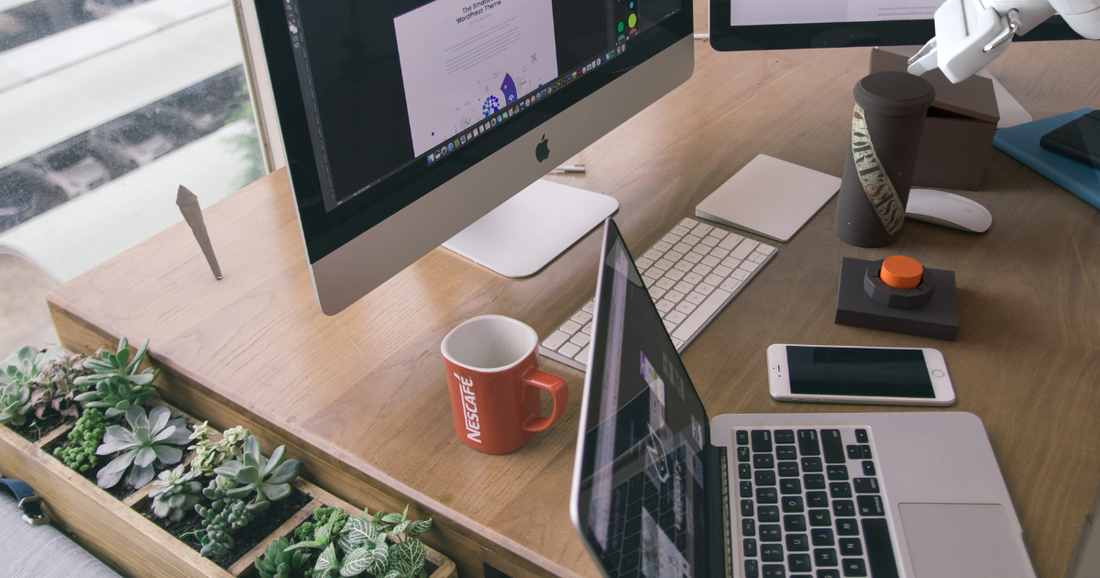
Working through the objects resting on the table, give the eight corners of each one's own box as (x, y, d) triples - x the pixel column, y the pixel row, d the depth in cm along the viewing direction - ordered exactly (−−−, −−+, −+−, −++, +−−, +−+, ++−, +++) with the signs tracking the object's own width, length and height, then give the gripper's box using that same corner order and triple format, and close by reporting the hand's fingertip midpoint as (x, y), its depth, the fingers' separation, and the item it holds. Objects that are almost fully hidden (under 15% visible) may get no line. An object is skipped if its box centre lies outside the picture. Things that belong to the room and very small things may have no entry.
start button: (879, 287, 84) (882, 274, 83) (880, 266, 87) (883, 253, 86) (919, 292, 83) (923, 279, 82) (919, 271, 86) (922, 258, 84)
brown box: (854, 179, 109) (866, 114, 103) (858, 139, 118) (869, 77, 112) (977, 191, 104) (998, 124, 98) (971, 148, 113) (989, 84, 107)
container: (820, 238, 98) (844, 88, 86) (843, 205, 104) (869, 60, 92) (890, 257, 94) (926, 102, 82) (911, 221, 99) (947, 72, 87)
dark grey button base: (834, 324, 85) (839, 295, 83) (839, 271, 92) (844, 243, 90) (954, 342, 81) (963, 313, 79) (950, 286, 89) (958, 257, 86)
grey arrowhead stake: (210, 286, 100) (170, 192, 91) (207, 276, 102) (168, 183, 93) (230, 280, 101) (192, 186, 92) (227, 269, 103) (189, 177, 94)
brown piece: (867, 88, 101) (870, 82, 100) (870, 52, 110) (872, 47, 109) (997, 123, 98) (1000, 118, 97) (989, 84, 107) (992, 78, 107)
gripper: (1038, 48, 88) (926, 120, 97) (1019, -9, 103) (923, 59, 112) (1005, 7, 87) (894, 84, 96) (991, -44, 102) (896, 26, 111)
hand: (910, 70), depth 104 cm, fingers closed, pressing on brown piece
